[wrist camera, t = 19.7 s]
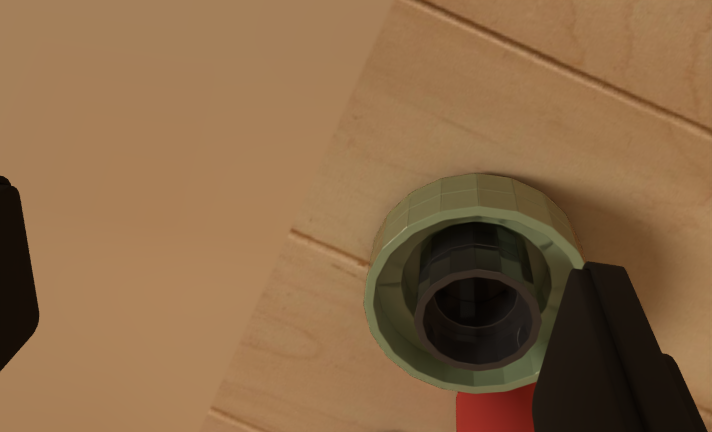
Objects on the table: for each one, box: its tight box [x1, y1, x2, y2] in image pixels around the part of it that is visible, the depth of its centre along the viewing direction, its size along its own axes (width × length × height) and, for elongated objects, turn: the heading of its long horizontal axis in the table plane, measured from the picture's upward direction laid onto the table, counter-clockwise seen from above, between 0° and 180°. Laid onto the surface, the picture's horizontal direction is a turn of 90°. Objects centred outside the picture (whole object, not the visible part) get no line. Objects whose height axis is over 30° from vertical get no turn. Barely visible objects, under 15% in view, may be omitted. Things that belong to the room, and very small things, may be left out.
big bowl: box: [364, 173, 586, 394], centre depth 41 cm, size 13×13×5 cm
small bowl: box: [414, 222, 542, 371], centre depth 40 cm, size 7×7×6 cm
